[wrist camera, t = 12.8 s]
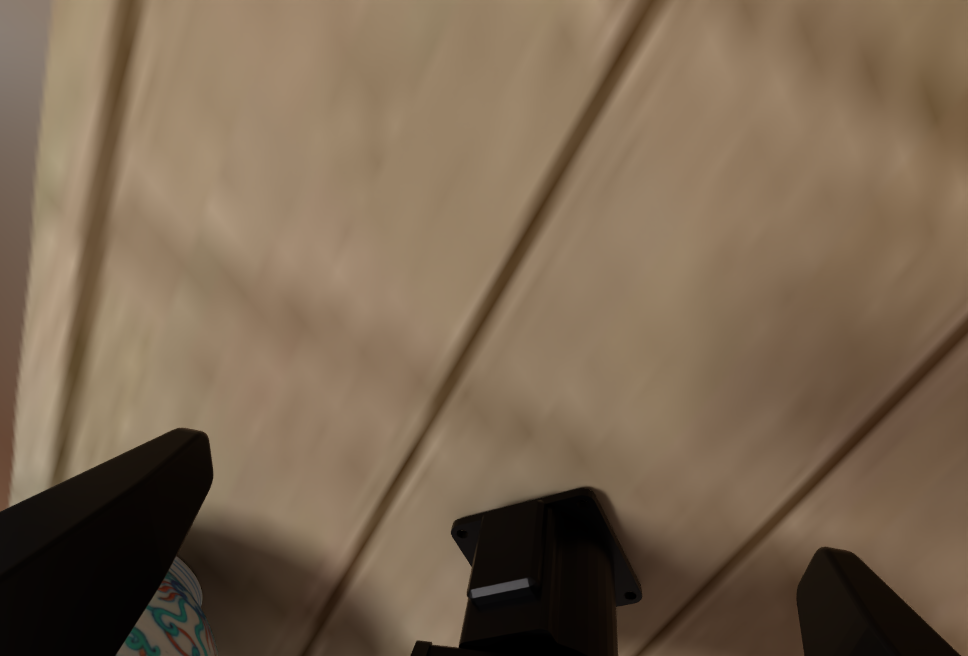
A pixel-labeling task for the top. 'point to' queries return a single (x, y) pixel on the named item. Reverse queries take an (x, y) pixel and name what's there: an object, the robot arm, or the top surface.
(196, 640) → the chinaware
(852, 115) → the top surface
